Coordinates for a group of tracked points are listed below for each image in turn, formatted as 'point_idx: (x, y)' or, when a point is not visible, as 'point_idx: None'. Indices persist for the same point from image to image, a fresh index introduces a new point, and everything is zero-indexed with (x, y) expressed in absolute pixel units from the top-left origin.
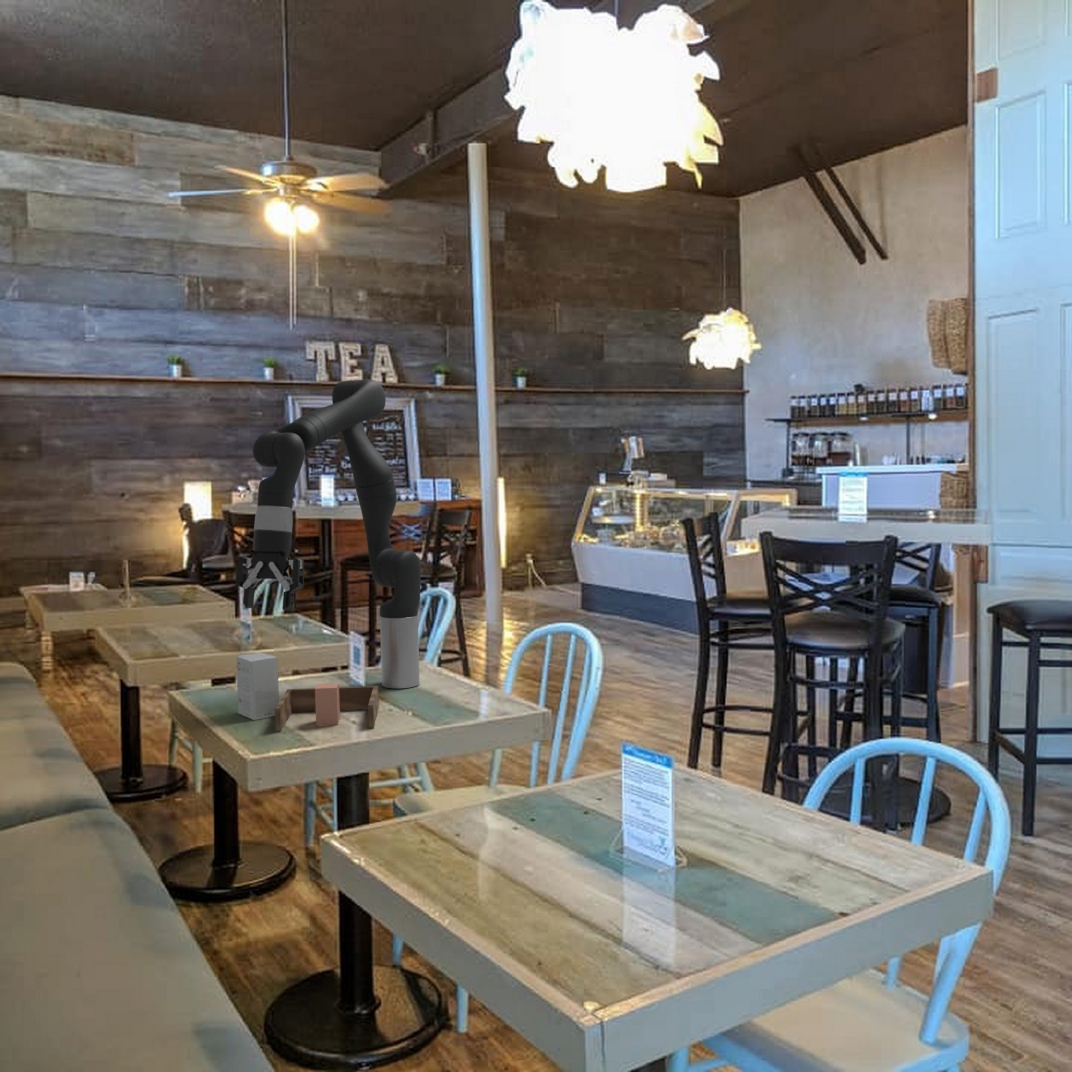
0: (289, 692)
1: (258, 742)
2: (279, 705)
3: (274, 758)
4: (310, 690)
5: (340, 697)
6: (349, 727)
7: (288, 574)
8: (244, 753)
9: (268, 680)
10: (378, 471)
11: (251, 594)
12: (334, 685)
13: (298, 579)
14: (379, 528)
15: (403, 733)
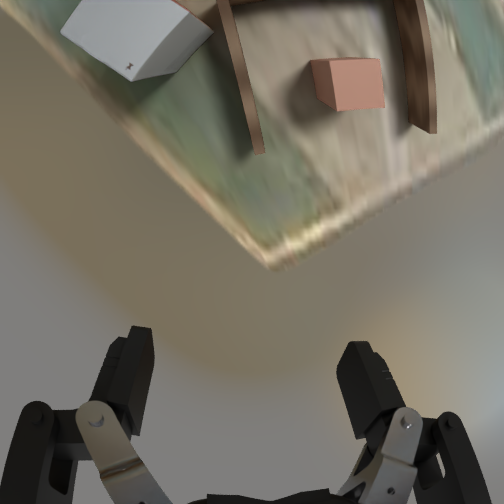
0: (232, 18)
1: (247, 198)
2: (256, 132)
3: (298, 262)
4: None
5: None
6: (378, 111)
7: (403, 501)
8: (249, 247)
9: (182, 43)
10: None
11: (138, 399)
12: (375, 82)
13: (436, 472)
14: None
15: (451, 153)
